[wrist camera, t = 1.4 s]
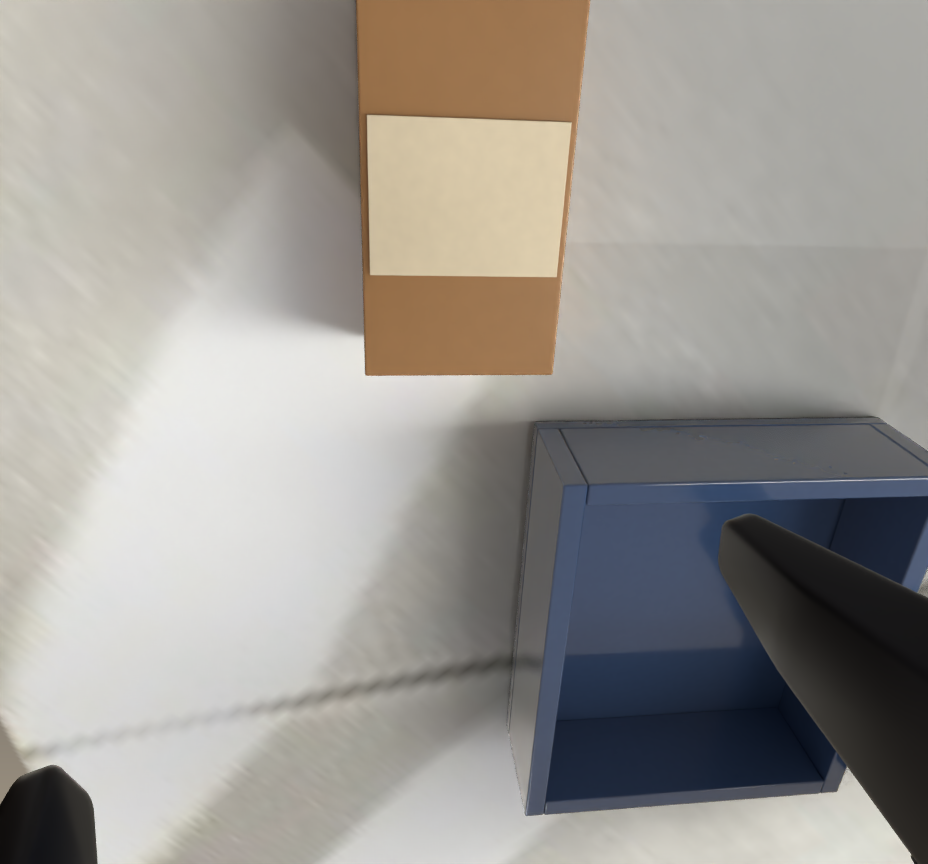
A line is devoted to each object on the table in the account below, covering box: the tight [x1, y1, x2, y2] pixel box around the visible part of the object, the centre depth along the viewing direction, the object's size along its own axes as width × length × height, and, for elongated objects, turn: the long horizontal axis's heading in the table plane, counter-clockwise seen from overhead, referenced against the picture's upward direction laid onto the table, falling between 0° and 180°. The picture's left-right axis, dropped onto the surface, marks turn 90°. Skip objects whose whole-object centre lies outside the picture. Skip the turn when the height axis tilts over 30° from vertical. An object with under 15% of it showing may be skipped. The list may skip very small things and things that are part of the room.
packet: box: [356, 0, 590, 376], centre depth 20 cm, size 6×10×4 cm, turn 178°
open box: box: [507, 417, 928, 816], centre depth 28 cm, size 14×16×5 cm
